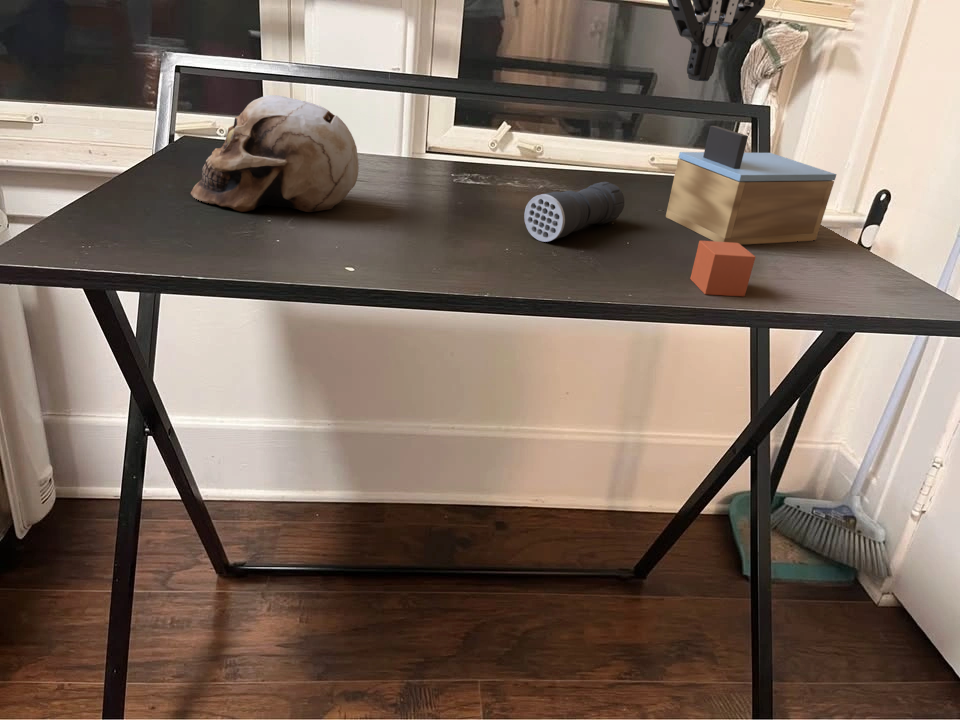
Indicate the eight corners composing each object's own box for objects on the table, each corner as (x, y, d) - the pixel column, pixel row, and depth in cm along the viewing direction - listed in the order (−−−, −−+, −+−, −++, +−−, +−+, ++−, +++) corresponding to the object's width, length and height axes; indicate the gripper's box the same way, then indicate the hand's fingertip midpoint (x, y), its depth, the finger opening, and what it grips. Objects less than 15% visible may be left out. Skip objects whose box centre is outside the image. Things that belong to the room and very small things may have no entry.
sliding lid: (834, 180, 96) (846, 142, 94) (739, 181, 90) (749, 140, 87) (768, 158, 106) (778, 123, 103) (678, 158, 99) (686, 120, 97)
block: (728, 281, 82) (738, 242, 80) (744, 296, 78) (755, 256, 76) (689, 278, 81) (699, 240, 79) (704, 294, 77) (714, 254, 75)
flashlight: (589, 215, 100) (596, 174, 98) (624, 225, 97) (632, 184, 95) (521, 234, 89) (527, 189, 87) (558, 247, 86) (565, 201, 84)
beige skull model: (182, 188, 92) (187, 75, 86) (312, 193, 102) (324, 92, 96) (227, 231, 81) (235, 105, 75) (367, 231, 91) (383, 120, 86)
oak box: (815, 240, 100) (834, 181, 96) (722, 245, 93) (739, 182, 90) (753, 214, 109) (768, 159, 106) (665, 217, 103) (677, 158, 99)
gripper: (709, -101, 74) (672, 82, 82) (807, -83, 80) (763, 87, 87) (664, -98, 80) (633, 72, 88) (757, -82, 86) (720, 78, 93)
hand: (698, 79), depth 88 cm, fingers closed
